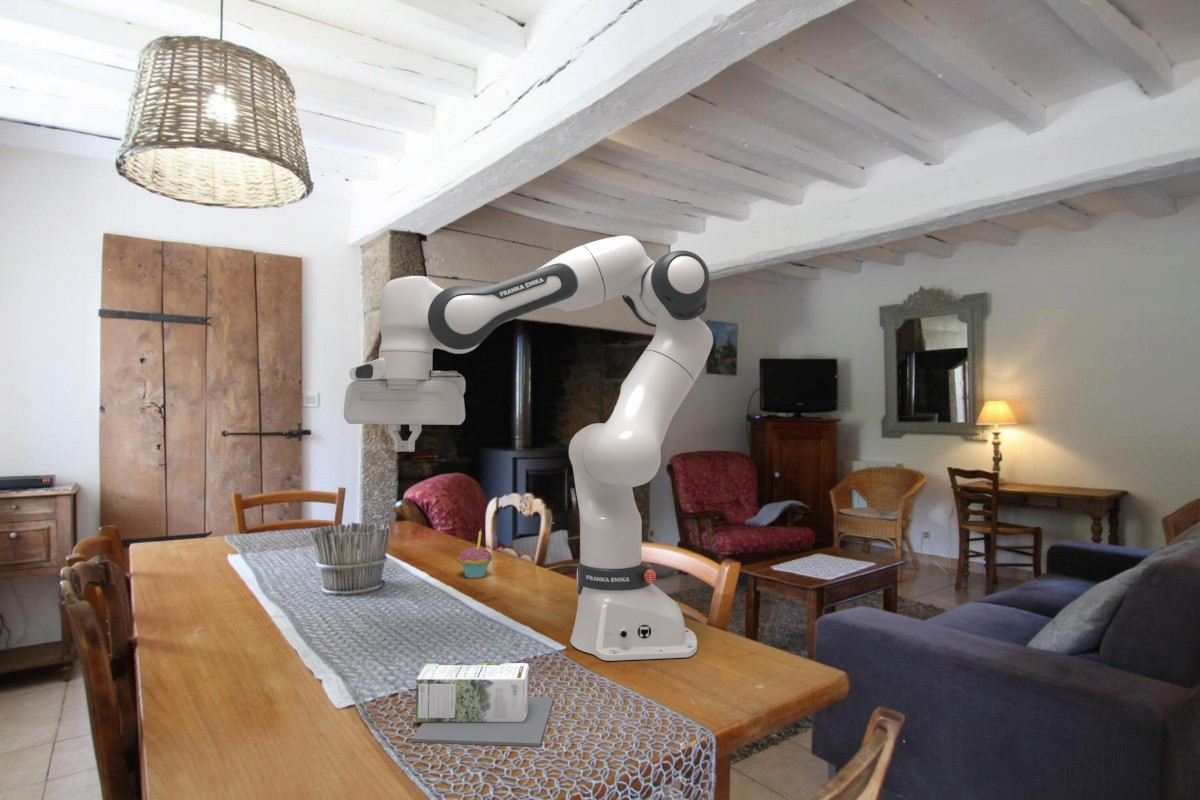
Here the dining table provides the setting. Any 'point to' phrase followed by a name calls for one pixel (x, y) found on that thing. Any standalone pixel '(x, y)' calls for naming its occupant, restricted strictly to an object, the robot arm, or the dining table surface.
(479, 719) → the syrup box
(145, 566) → the dining table surface
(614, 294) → the robot arm
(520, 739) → the felt mat
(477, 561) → the cupcake
